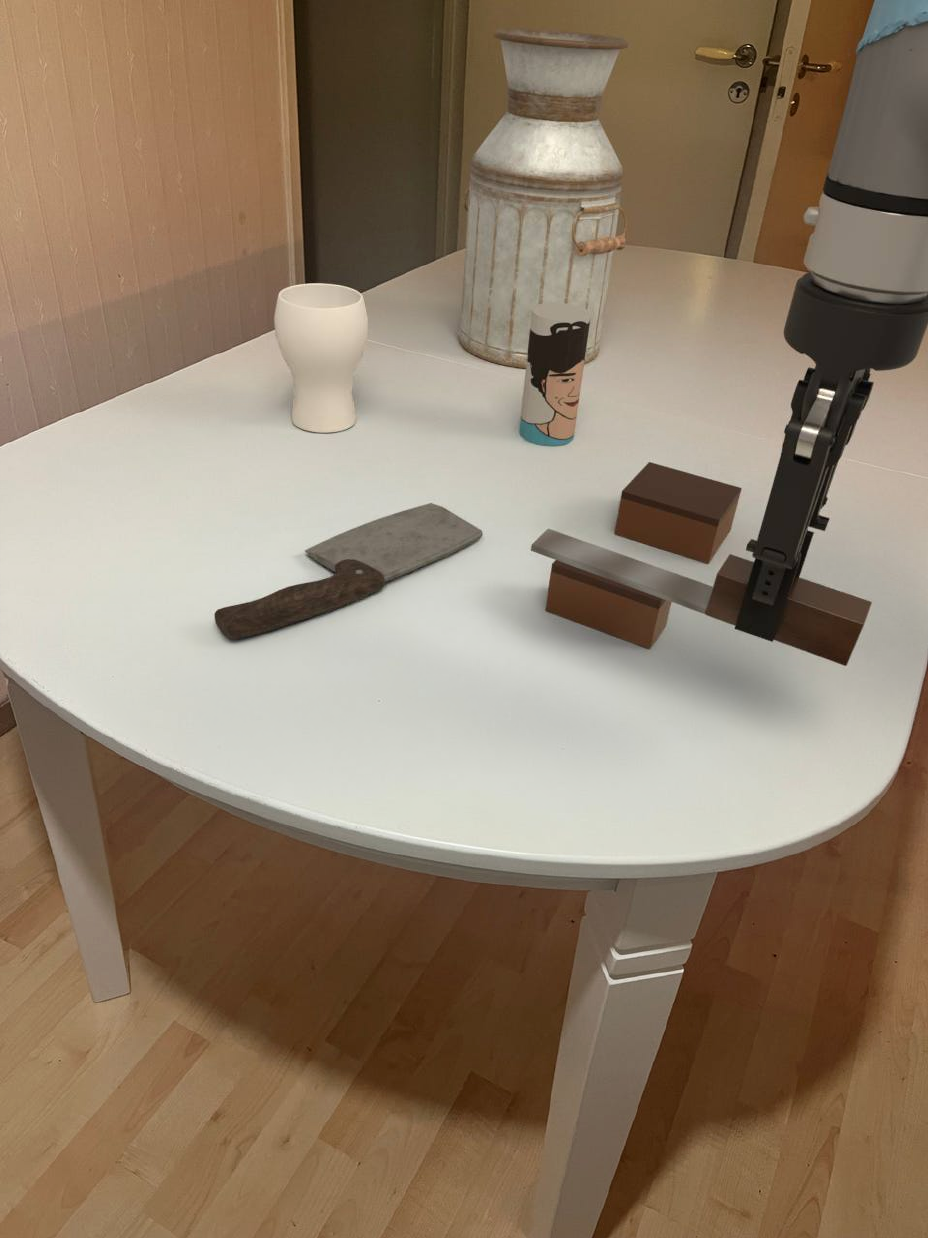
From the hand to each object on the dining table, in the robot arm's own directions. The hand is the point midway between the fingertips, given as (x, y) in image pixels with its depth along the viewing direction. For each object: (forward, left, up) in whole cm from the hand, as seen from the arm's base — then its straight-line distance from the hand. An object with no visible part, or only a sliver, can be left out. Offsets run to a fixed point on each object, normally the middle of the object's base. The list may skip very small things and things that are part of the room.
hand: (762, 618), depth 66 cm
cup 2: (+34, -40, -10) cm, 54 cm away
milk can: (+50, -68, -10) cm, 86 cm away
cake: (+13, -26, -10) cm, 31 cm away
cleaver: (+36, -1, -10) cm, 38 cm away
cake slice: (+14, -8, -10) cm, 19 cm away
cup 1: (+58, -27, -10) cm, 65 cm away
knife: (+5, 0, 0) cm, 5 cm away
